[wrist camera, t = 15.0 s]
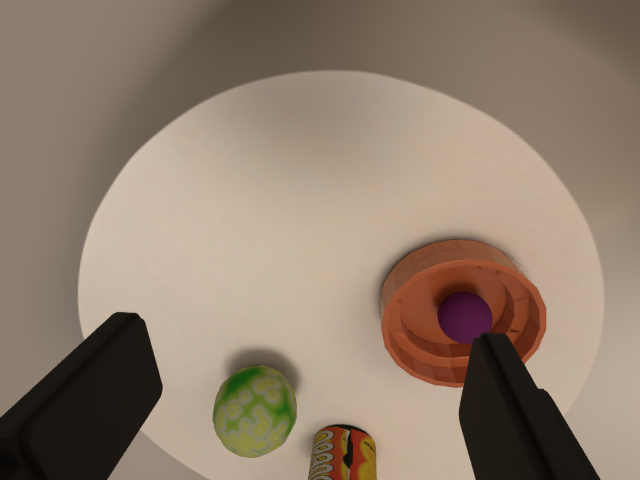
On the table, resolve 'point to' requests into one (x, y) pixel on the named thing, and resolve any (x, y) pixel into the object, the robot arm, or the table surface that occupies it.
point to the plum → (464, 317)
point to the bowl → (439, 282)
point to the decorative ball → (254, 411)
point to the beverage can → (343, 454)
